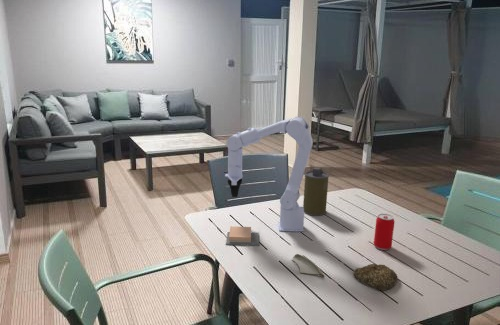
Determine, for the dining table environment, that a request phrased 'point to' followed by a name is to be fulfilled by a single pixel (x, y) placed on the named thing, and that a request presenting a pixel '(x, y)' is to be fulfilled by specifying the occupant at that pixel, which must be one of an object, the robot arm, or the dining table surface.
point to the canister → (315, 192)
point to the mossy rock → (376, 276)
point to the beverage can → (384, 231)
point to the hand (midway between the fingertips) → (234, 196)
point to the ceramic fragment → (306, 265)
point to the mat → (253, 242)
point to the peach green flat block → (240, 234)
